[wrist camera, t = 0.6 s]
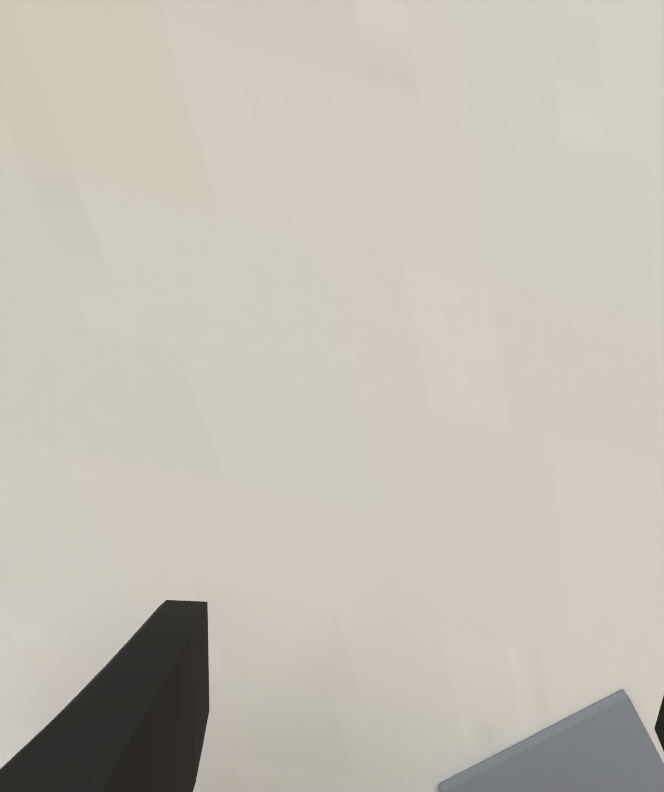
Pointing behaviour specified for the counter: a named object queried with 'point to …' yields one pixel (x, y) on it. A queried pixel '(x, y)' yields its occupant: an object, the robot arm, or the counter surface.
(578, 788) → the mat
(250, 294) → the counter surface
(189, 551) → the counter surface
